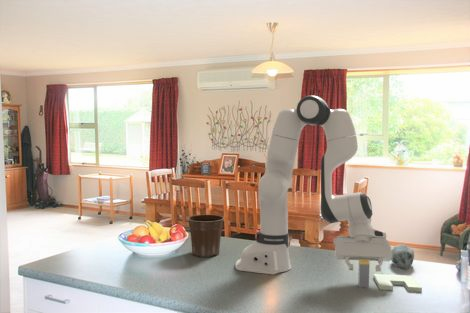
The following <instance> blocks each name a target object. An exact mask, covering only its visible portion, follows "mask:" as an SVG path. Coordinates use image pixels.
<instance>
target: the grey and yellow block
mask: <svg viewBox="0 0 470 313" xmlns="http://www.w3.org/2000/svg"><path fill="white" fill-rule="evenodd" d="M357 275H358V278H357V279H358V281H357V282H358V283H357V284H358V286H359V288H370V261H368V260H364V259H359V260H358V274H357Z"/></svg>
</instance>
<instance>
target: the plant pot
mask: <svg viewBox="0 0 470 313" xmlns="http://www.w3.org/2000/svg"><path fill="white" fill-rule="evenodd" d="M224 220H225V217H224V216H223V215H219V214H195V215H190V216H188V217H187V221H188V228H189V229H190V230H189V231H190V232H189V233H190V240H191V243H190V244H191V253H192V255H195V256H196V257H201V258H208V257H213V256H217V255H219V254H220V249H221V240H222V238H221V236H222V230H223V229H222V228H223V224H224Z"/></svg>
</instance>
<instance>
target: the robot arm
mask: <svg viewBox="0 0 470 313" xmlns="http://www.w3.org/2000/svg"><path fill="white" fill-rule="evenodd" d="M305 126H320V127H321V128H322V129H323V131H324V135H325V139H326V151H325V154H323V155H322V157H321V159H320V160H321V161H320V205H319V206H320V207H319V209H320V210H319V212H320V215H321V218H322V219H323V220H324V221H326V222H328V223H330V224H335V223H339V222H342V221H343V222H344V221H347V223H348V235H337V236H335V237H333V245H334V246H335V247H334V248H335V249H334V258H335V259H336V260H342V261H343V260H344V264H346V265H347V267H348V271H354V264H353V263H351V262H350V261H359V259H364V260H368V261H369V262H370V261H371V262H377V265H375V272H379V273H380V272H381V271H382V270H381V268H382V265H383V262H391V259H392V247H391V244H390V241H389V240H388V239H387V233H386V232H384V231H382V230H378V229H375V228H373V226H372V216H373V209H372V208H373V207H372V202H371V199H370V197H369V196H368V195H366V193H364V192H351V193H347V194H341V195H333V173H334V171H335V170H336V169H337V168H339V167H340V166H341V165H343V164H345V163H348V161H350V160H351V159H352V158H354V156H355V155H356V154H357V152H358V138H357V132H356V129H355V126H354V123H353V119H352V118H351V115H350V113H349V111H348V110H346V109H343V108H335V109H331V108H330V107H329V104H328V103H327V102H326V101H325V100H324V99H323V98H322V97H321V96H317V95H312V94H310V95H306V96H304V97H302V98H300V100H299V102H298V103H297V106H296V109H295V108H294V109H293V108H285V109H282V110H281V111H280V112H279V113H278V115H277V117H276V119H275V122H274V125H273V128H272V132H271V136H270V140H269V146H268V150H267V156H266V164H265V165H266V166H265V171H264V174H263V175H262V176H261V177H260V179H259V181H258V184H257V188H258V202H259V212H260V213H259V214H260V216H259V217H260V218H259V219H260V220H259V222H260V227H259V230H258V229H256V230H255V232H254V241H253V242H252V243H250V244H249V245H248V246H246V247H245V248H244V249H243V250H242V252H241V255H240V258H239V259H237V260H236V262H235V265H234V266H235V267H234V268H235V269H236V270H237V271H240V272H241V271H242V272H248V273H256V274H257V273H258V274H265V275H276V274H279V273H284V272H288V271H290V270H291V269H292V265H291V260H290V254H289V252H290V251H289V247H290V234H289V230H288V229H289V211H288V190H289V189H290V186H291V181H292V176H293V171H294V167H295V160H296V156H297V152H298V147H299V143H300V138H301V134H302V131H303V128H304V127H305Z"/></svg>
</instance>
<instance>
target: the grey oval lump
mask: <svg viewBox="0 0 470 313" xmlns="http://www.w3.org/2000/svg"><path fill="white" fill-rule="evenodd" d="M391 250H392V259H391V260H390V262H392V263H393V265H394V266H396V267H397V268H399V269H402V270H408V269H410V268H411V267H412V265H413V264H414V263H413V262H414V260H415V259H414V258H415V252H414V250H413V248H411V247H410V246H409V245H406V244H403V243H401V244H397V245H395V246H393V248H391Z"/></svg>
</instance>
